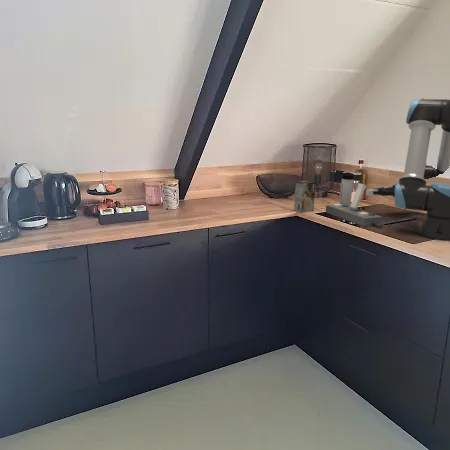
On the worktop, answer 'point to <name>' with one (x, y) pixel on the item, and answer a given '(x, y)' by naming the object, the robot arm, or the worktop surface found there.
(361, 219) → the power strip
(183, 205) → the worktop surface
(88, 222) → the worktop surface
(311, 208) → the coffee box
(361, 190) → the middle rocker lever
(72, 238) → the worktop surface
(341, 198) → the travel mug
